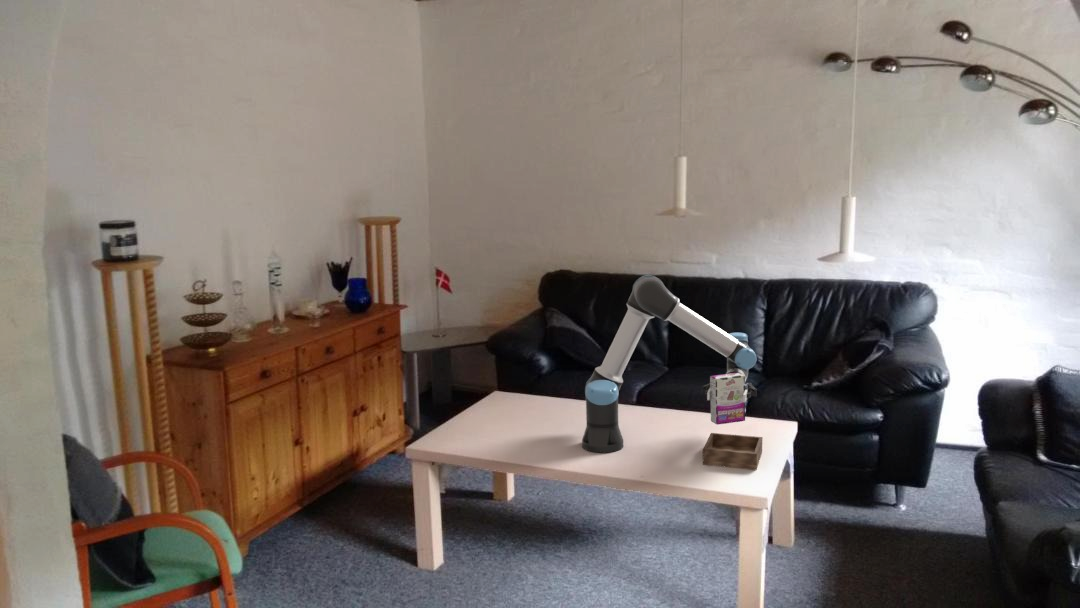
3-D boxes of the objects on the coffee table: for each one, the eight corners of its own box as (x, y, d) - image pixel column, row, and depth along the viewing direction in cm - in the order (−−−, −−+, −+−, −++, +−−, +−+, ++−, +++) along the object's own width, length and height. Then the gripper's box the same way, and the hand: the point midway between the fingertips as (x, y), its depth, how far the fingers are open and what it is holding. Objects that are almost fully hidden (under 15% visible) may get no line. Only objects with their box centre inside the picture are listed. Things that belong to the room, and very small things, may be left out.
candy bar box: (738, 417, 303) (738, 371, 300) (745, 421, 298) (745, 375, 296) (709, 420, 300) (709, 375, 297) (716, 425, 295) (716, 378, 293)
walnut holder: (702, 464, 295) (702, 449, 294) (710, 447, 311) (711, 432, 310) (756, 469, 289) (756, 454, 288) (762, 452, 305) (762, 437, 304)
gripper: (767, 392, 311) (762, 410, 291) (701, 389, 319) (691, 405, 299) (767, 372, 310) (762, 388, 289) (701, 369, 318) (691, 384, 297)
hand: (726, 397), depth 294 cm, fingers closed on candy bar box, 11 cm apart
